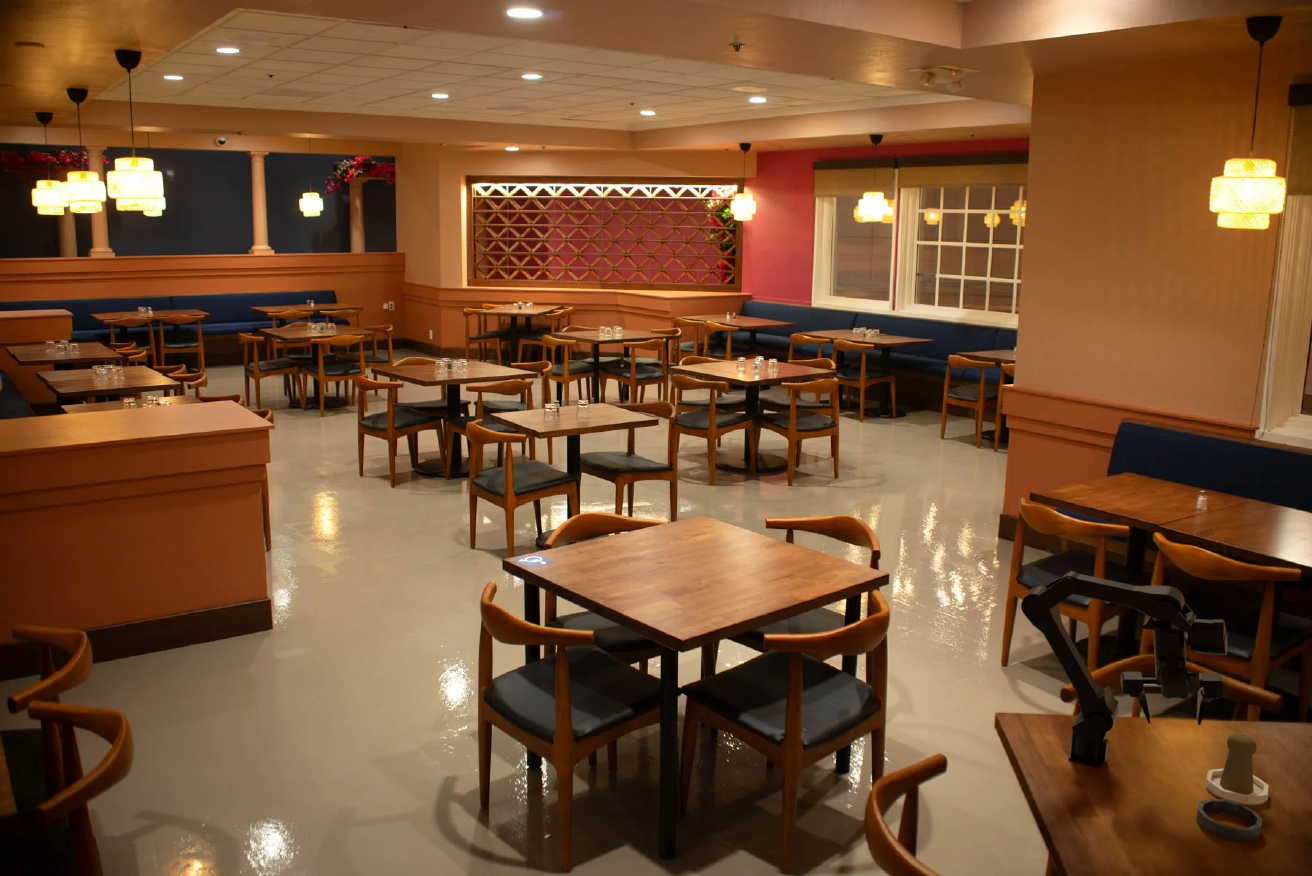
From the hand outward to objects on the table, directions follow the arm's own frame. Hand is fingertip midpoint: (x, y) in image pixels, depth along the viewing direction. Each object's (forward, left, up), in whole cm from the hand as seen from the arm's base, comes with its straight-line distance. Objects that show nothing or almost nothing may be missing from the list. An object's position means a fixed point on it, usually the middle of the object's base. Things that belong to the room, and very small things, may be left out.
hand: (1173, 723), depth 214 cm
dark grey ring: (+12, -13, -12) cm, 22 cm away
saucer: (+12, +3, -12) cm, 18 cm away
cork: (+12, +3, -12) cm, 17 cm away
